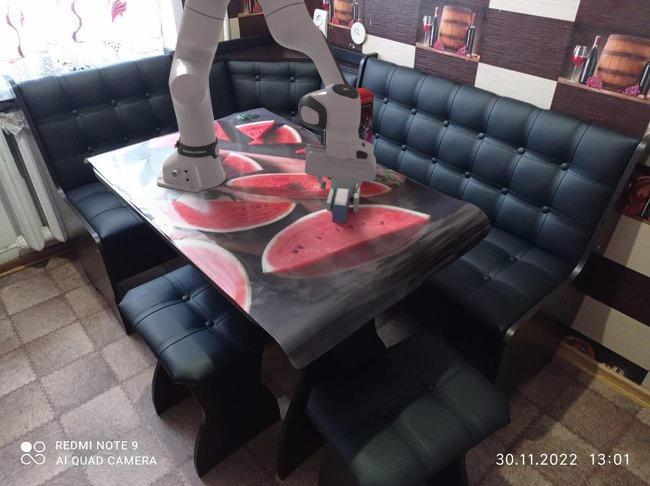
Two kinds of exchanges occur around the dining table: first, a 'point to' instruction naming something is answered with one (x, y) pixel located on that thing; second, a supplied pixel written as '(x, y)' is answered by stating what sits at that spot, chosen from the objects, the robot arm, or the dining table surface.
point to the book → (340, 205)
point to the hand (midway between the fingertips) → (339, 190)
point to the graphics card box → (361, 117)
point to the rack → (346, 185)
